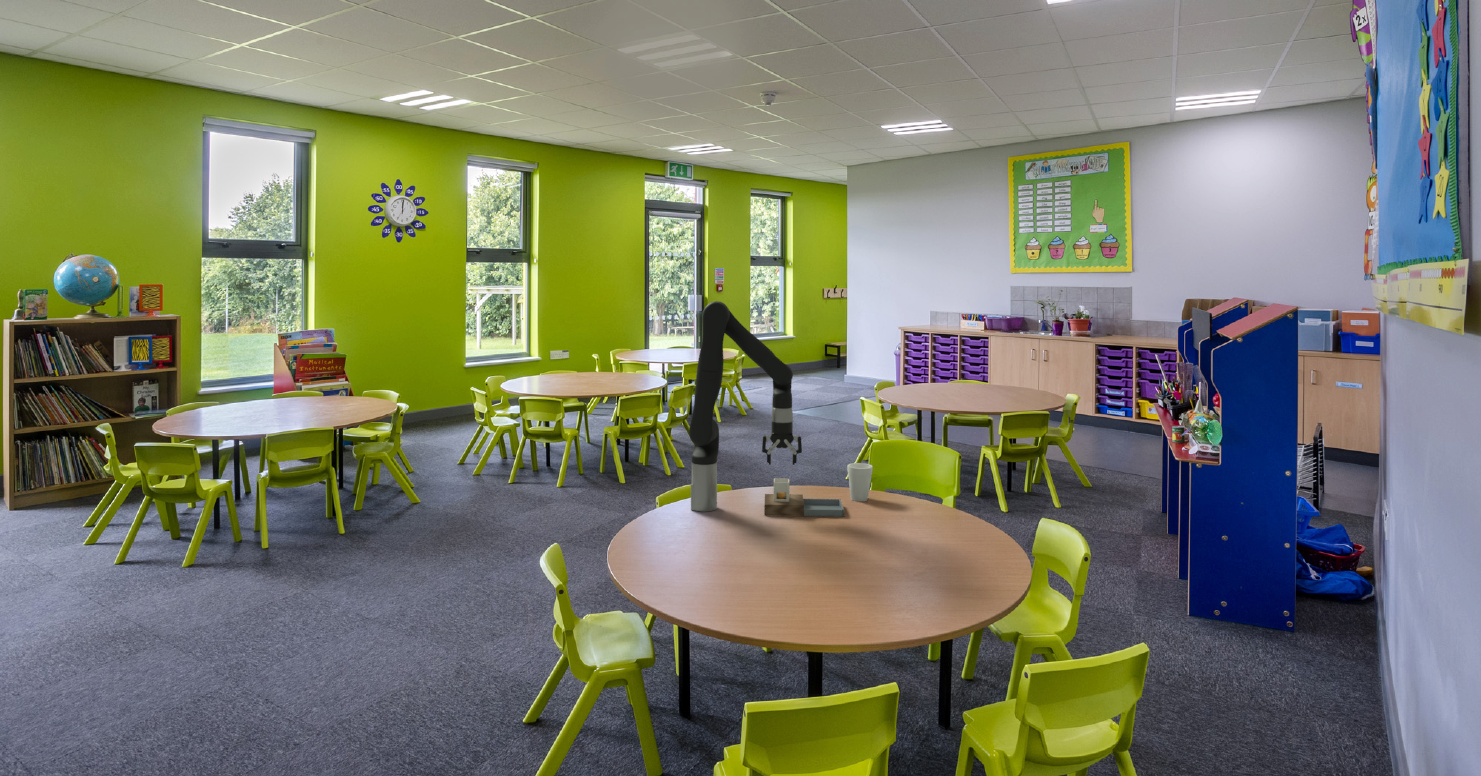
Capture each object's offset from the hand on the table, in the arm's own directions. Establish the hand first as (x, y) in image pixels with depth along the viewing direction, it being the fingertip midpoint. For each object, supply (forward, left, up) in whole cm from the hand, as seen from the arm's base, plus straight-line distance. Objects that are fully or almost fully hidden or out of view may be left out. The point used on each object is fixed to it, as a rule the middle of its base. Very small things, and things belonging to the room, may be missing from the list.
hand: (781, 464), depth 280 cm
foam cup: (+30, +17, -17) cm, 38 cm away
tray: (+15, 0, -17) cm, 23 cm away
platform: (+1, 0, -17) cm, 17 cm away
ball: (0, 0, -12) cm, 12 cm away
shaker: (0, 0, -13) cm, 13 cm away
